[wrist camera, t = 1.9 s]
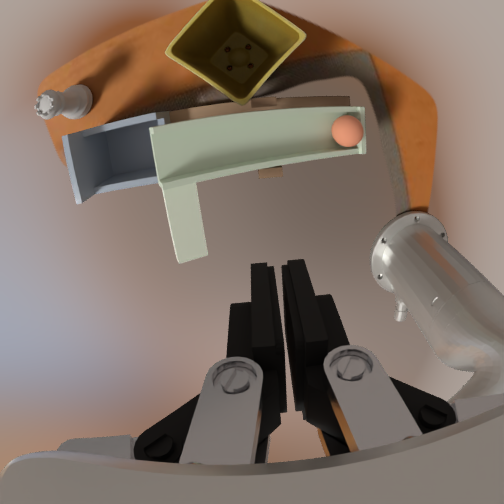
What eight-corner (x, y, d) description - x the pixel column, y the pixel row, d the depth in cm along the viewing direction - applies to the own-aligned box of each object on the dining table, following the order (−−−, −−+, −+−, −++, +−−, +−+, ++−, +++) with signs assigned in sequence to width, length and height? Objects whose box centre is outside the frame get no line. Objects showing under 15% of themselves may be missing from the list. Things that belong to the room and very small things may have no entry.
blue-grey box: (179, 168, 35) (158, 189, 27) (111, 180, 36) (76, 204, 27) (171, 110, 32) (145, 113, 24) (101, 126, 32) (61, 136, 24)
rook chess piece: (75, 125, 32) (39, 134, 25) (60, 99, 30) (22, 104, 23) (100, 103, 31) (66, 107, 24) (84, 77, 29) (48, 75, 22)
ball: (352, 143, 29) (370, 148, 26) (326, 145, 28) (343, 150, 25) (350, 114, 27) (369, 115, 25) (324, 115, 27) (341, 116, 24)
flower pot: (233, 9, 27) (227, -20, 19) (295, 52, 29) (309, 35, 21) (184, 65, 30) (162, 53, 22) (245, 108, 32) (242, 108, 24)
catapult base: (349, 152, 34) (382, 171, 26) (179, 167, 35) (156, 191, 26) (346, 96, 31) (380, 95, 22) (171, 111, 32) (143, 115, 23)
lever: (348, 210, 33) (365, 217, 31) (174, 260, 26) (182, 273, 24) (346, 106, 28) (364, 106, 26) (149, 127, 21) (153, 127, 19)
